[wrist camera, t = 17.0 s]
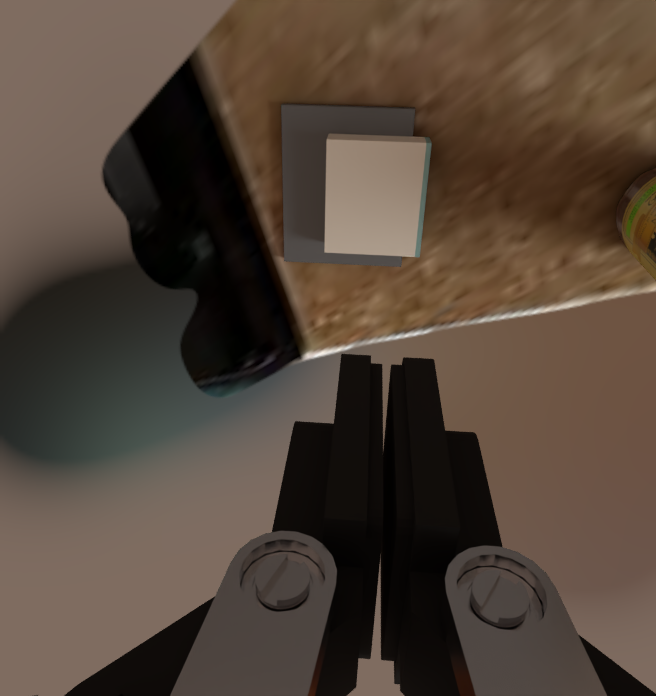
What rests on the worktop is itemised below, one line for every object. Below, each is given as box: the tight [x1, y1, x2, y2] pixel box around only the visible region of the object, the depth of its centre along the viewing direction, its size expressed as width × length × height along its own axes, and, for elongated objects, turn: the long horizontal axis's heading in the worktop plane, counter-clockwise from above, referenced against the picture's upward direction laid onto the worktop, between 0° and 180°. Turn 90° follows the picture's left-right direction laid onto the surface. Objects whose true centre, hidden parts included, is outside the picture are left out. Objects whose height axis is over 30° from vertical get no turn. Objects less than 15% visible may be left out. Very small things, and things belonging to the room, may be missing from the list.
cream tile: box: [324, 134, 432, 257], centre depth 36 cm, size 7×2×6 cm
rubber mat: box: [281, 104, 415, 267], centre depth 38 cm, size 8×10×1 cm
